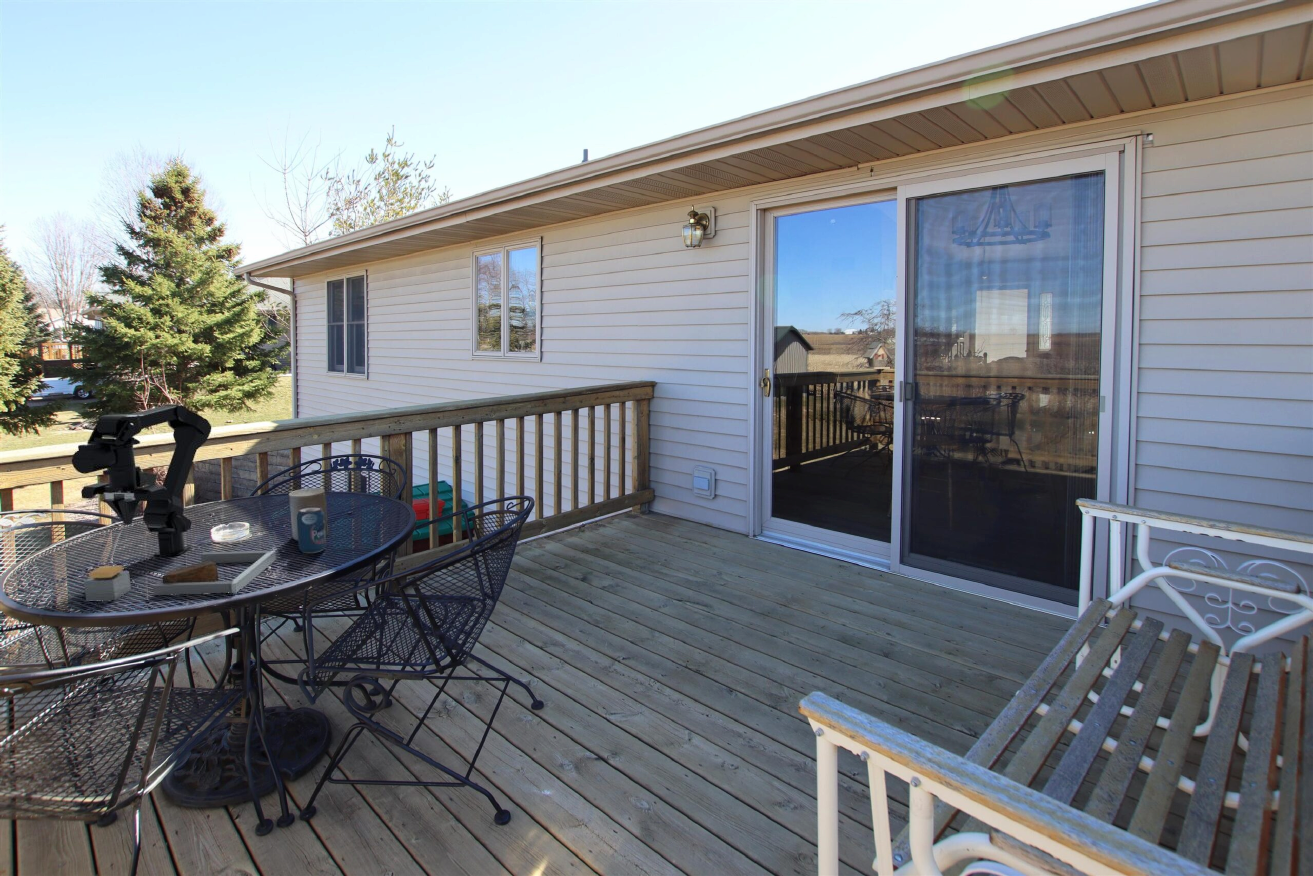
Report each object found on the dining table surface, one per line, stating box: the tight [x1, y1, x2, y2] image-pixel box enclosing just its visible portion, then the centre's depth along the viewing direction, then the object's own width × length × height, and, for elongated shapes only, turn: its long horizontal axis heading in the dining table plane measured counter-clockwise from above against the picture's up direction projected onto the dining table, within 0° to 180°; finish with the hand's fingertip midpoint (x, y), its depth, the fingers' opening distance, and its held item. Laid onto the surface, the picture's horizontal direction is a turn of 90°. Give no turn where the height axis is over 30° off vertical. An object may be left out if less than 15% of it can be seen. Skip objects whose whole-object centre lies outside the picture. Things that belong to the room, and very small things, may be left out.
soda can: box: [297, 506, 327, 554], centre depth 195 cm, size 7×7×12 cm
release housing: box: [83, 570, 132, 602], centre depth 161 cm, size 6×6×5 cm
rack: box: [152, 550, 277, 596], centre depth 175 cm, size 24×18×2 cm
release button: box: [88, 565, 124, 579], centre depth 161 cm, size 4×4×5 cm
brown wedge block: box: [161, 561, 219, 583], centre depth 169 cm, size 11×4×5 cm, turn 144°
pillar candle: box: [288, 487, 329, 541], centre depth 206 cm, size 10×10×15 cm
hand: (128, 524), depth 177 cm, fingers closed
